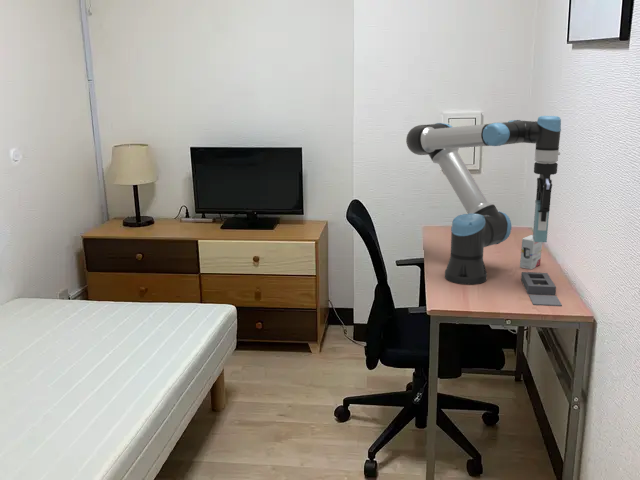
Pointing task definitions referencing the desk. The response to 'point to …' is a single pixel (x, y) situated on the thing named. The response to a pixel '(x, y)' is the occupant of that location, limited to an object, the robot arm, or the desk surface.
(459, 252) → the robot arm
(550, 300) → the pad
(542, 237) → the plug
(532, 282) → the header
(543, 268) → the desk surface
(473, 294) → the desk surface
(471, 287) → the desk surface
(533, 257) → the ink box
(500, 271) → the desk surface
